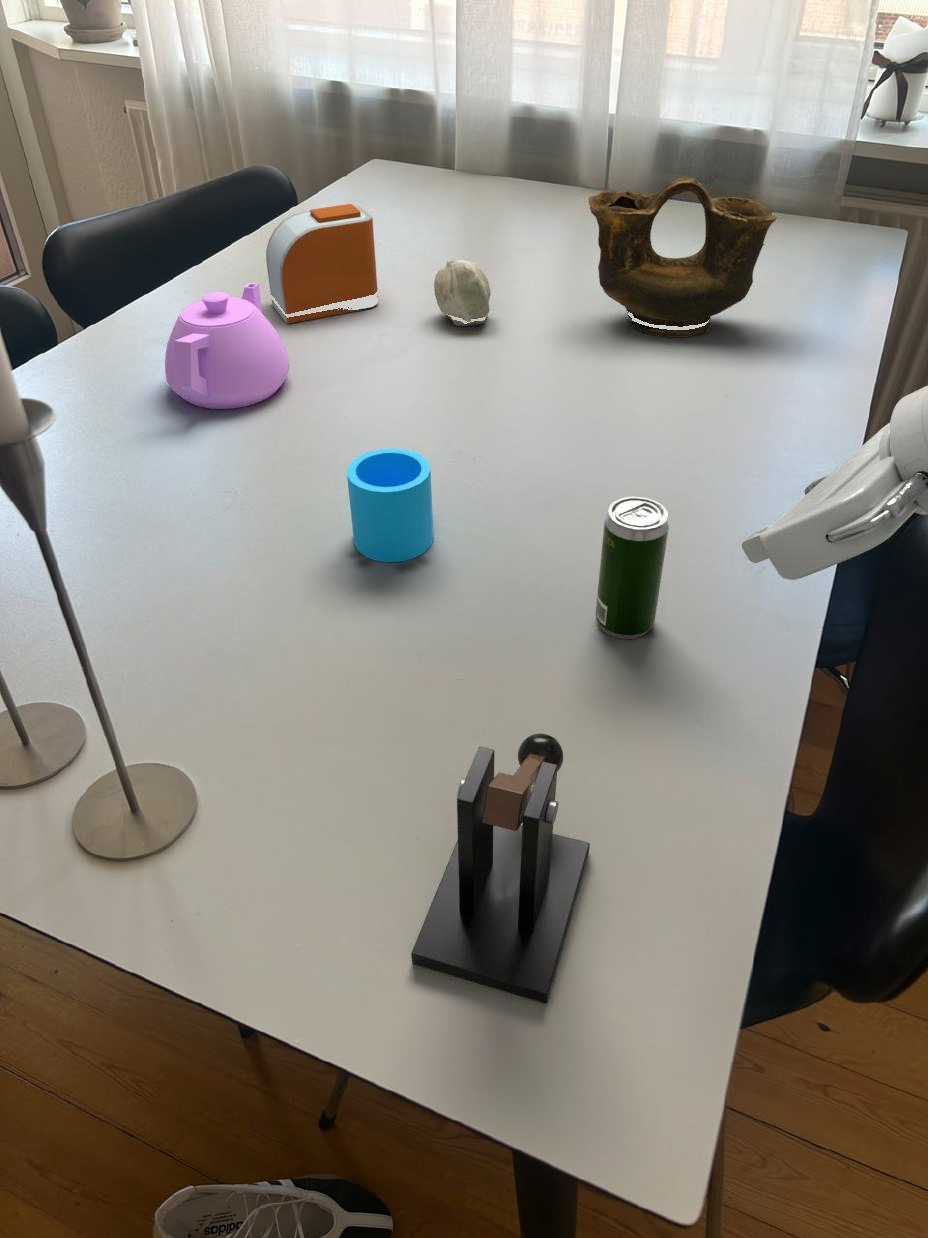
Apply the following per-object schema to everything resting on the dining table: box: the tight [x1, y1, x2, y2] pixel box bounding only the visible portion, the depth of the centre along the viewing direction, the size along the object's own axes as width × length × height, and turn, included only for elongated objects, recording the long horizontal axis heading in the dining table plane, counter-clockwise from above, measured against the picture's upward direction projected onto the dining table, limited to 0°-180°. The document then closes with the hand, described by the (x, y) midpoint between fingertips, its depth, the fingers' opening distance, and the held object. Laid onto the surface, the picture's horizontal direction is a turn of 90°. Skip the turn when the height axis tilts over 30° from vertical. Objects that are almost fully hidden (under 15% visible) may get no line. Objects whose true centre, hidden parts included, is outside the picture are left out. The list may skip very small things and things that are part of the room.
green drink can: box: [595, 496, 670, 640], centre depth 84 cm, size 5×5×12 cm
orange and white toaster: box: [265, 203, 378, 325], centre depth 142 cm, size 15×8×14 cm, turn 115°
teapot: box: [164, 282, 290, 410], centre depth 122 cm, size 22×16×12 cm
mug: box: [346, 447, 434, 563], centre depth 98 cm, size 12×8×8 cm
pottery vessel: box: [588, 177, 778, 338], centre depth 133 cm, size 25×11×20 cm, turn 80°
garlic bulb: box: [433, 258, 491, 327], centre depth 138 cm, size 9×8×10 cm
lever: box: [482, 732, 564, 831], centre depth 63 cm, size 13×3×3 cm
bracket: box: [410, 746, 591, 1005], centre depth 61 cm, size 12×9×13 cm
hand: (782, 521), depth 71 cm, fingers open, 8 cm apart
